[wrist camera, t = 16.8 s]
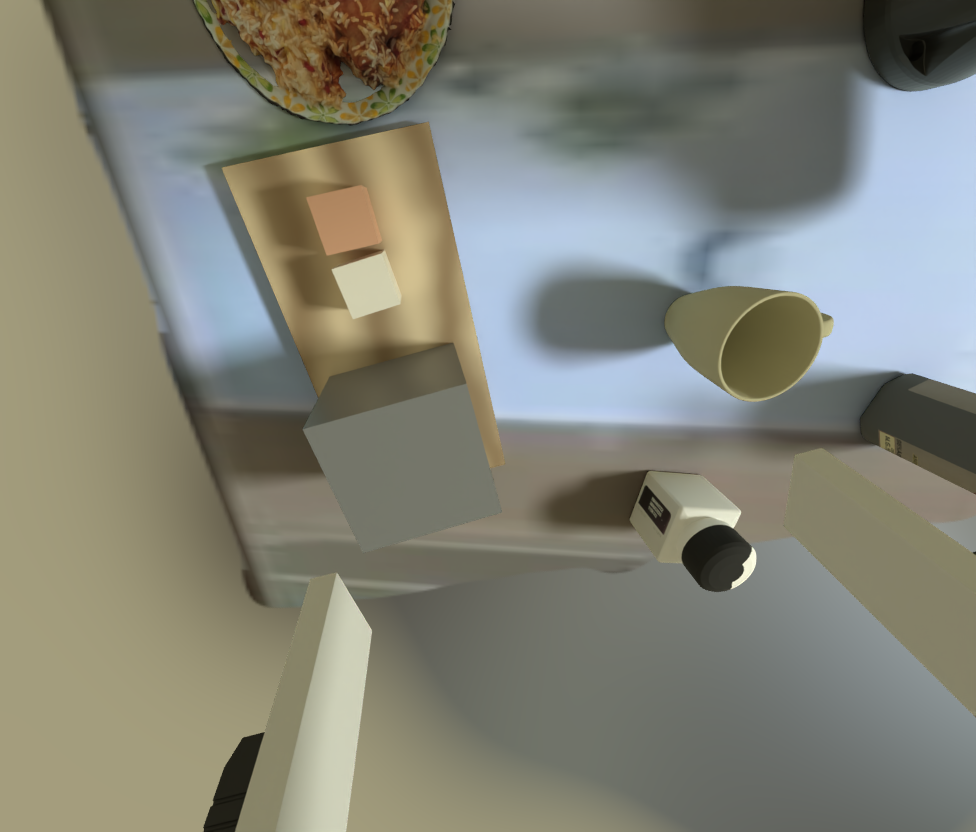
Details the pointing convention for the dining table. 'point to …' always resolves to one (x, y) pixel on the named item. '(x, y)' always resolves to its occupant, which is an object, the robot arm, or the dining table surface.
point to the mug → (748, 338)
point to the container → (693, 529)
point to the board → (405, 238)
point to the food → (334, 50)
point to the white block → (367, 284)
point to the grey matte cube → (403, 448)
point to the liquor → (926, 426)
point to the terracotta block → (345, 219)
